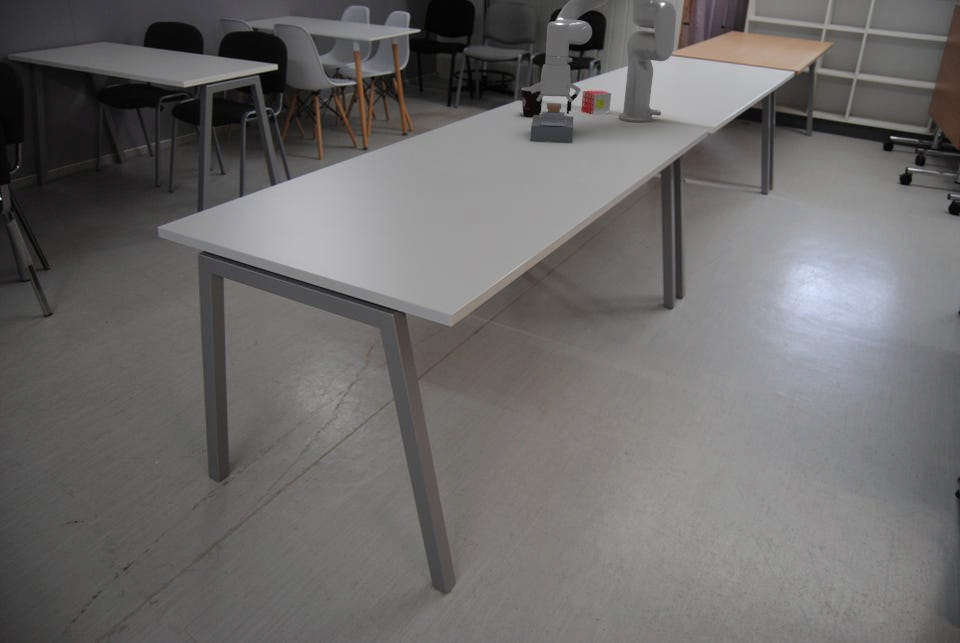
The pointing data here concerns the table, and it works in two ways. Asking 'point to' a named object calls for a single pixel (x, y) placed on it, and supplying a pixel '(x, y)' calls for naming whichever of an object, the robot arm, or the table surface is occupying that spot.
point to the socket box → (552, 130)
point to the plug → (553, 107)
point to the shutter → (553, 118)
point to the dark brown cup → (529, 102)
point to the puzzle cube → (596, 102)
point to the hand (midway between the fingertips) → (553, 112)
